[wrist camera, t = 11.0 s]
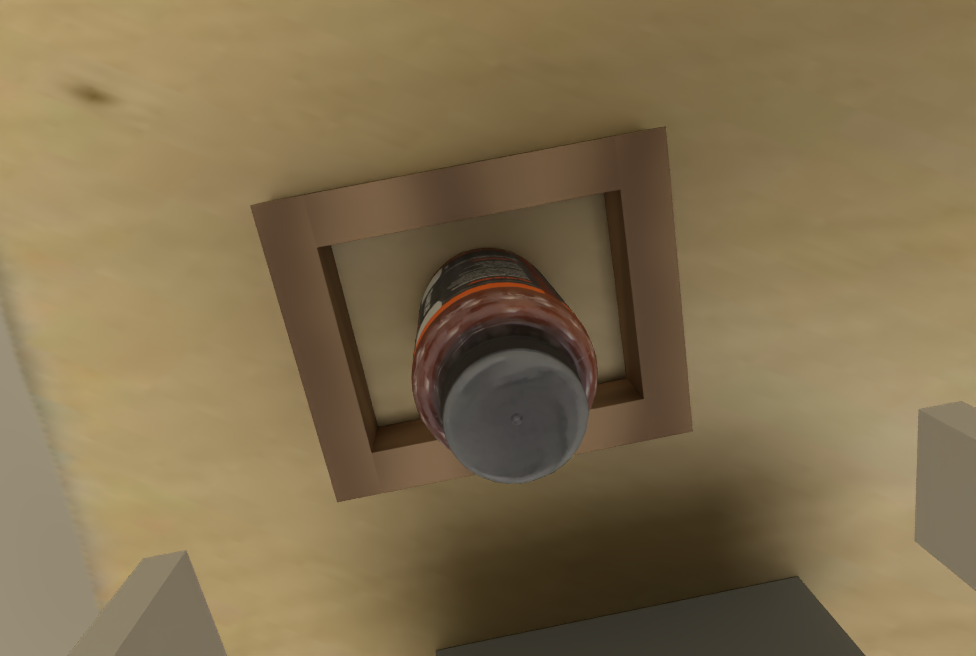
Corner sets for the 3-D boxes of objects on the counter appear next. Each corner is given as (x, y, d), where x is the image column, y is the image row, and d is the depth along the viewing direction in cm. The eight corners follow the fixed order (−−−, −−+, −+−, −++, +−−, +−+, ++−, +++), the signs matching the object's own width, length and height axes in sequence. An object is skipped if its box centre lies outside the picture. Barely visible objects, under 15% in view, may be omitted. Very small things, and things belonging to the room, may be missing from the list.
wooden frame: (644, 130, 25) (665, 126, 22) (671, 408, 28) (692, 431, 26) (269, 201, 24) (250, 205, 22) (346, 472, 28) (337, 502, 26)
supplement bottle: (393, 292, 26) (356, 388, 15) (508, 219, 25) (555, 263, 14) (466, 397, 27) (481, 552, 16) (575, 330, 27) (664, 445, 16)
